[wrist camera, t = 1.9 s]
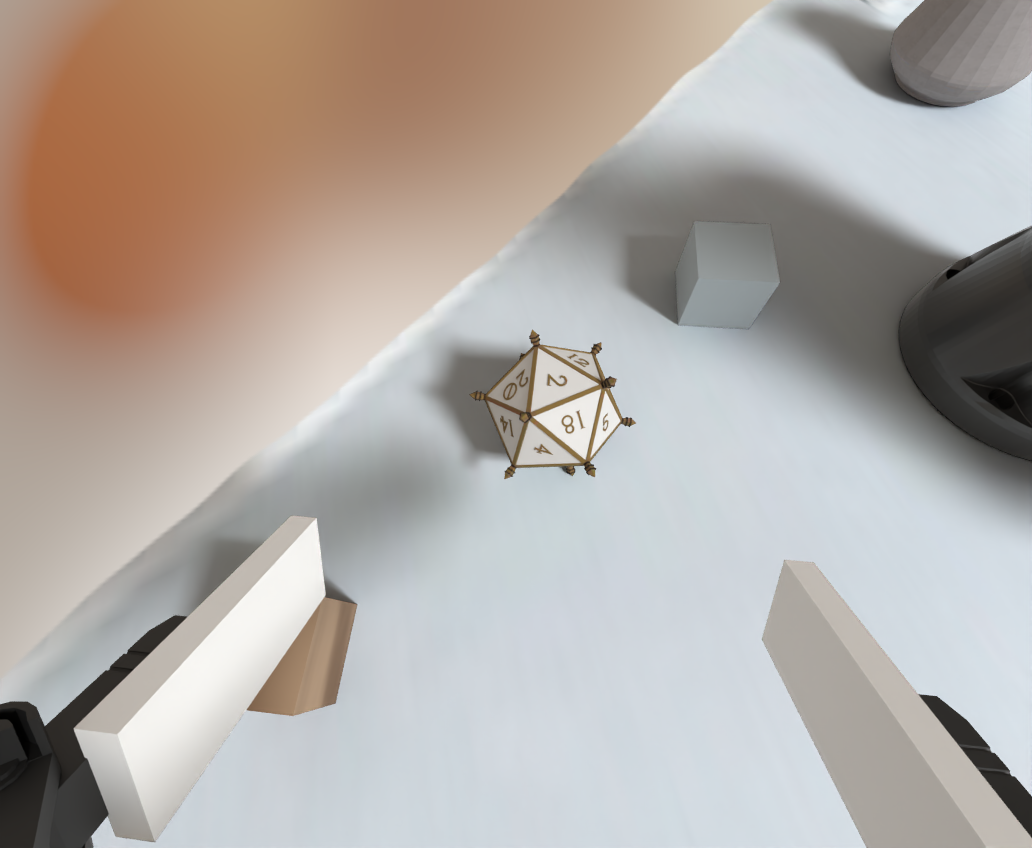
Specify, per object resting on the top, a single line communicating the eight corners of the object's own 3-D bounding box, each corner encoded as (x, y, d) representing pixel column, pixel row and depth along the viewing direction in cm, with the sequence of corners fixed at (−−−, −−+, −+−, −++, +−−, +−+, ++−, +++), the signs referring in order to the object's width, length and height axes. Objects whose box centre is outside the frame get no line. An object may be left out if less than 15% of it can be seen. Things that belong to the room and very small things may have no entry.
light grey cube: (741, 276, 37) (770, 223, 32) (748, 329, 35) (780, 282, 30) (675, 272, 37) (694, 220, 32) (677, 325, 35) (698, 278, 30)
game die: (545, 481, 34) (480, 525, 25) (499, 372, 35) (419, 376, 25) (666, 436, 31) (642, 468, 21) (613, 314, 31) (567, 295, 22)
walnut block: (357, 604, 28) (322, 596, 23) (335, 703, 26) (292, 716, 21) (275, 595, 28) (225, 586, 24) (247, 692, 26) (186, 702, 22)
